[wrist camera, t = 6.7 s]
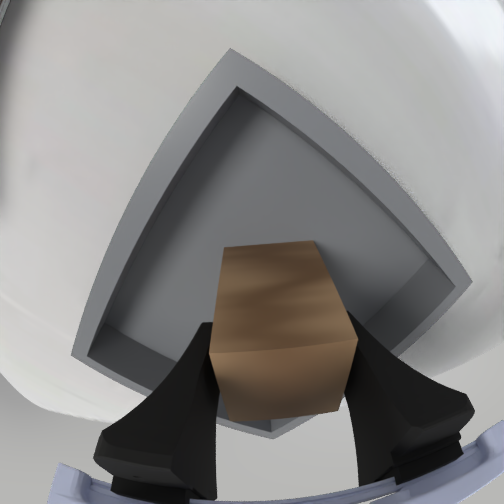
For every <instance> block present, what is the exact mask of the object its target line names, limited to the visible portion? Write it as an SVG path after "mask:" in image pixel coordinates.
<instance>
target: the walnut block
mask: <svg viewBox="0 0 504 504" xmlns="http://www.w3.org/2000/svg"><path fill="white" fill-rule="evenodd" d="M357 341H358V337H357V335H356V333H355V330H354V328H353V326H352V323H351V321H350V319H349V316H348V314H347V312H346V309H345V307H344V305H343V303H342V300H341V298H340V296H339V294H338V292H337V289H336V287H335V285H334V283H333V281H332V279H331V276H330V274H329V272H328V270H327V268H326V266H325V264H324V262H323V260H322V258H321V255H320V253H319V251H318V249H317V247H316V245H315V243H314V241H313V240H309V241H296V242H284V243H271V244H259V245H247V246H235V247H224V250H223V257H222V263H221V270H220V277H219V284H218V290H217V297H216V304H215V312H214V319H213V326H212V334H211V341H210V349H209V355H210V359H211V362H212V366H213V369H214V372H215V376H216V379H217V382H218V386H219V389H220V392H221V395H222V399H223V402H224V405H225V408H226V411H227V414H228V417H229V420H230V422H232V421H258V420H272V419H283V418H293V417H301V416H309V415H316V414H323V413H328V412H335V411H338V409H339V407H340V403H341V400H342V397H343V394H344V390H345V387H346V384H347V380H348V377H349V373H350V369H351V365H352V362H353V358H354V354H355V350H356V346H357Z"/></svg>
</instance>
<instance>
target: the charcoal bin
mask: <svg viewBox="0 0 504 504" xmlns="http://www.w3.org/2000/svg"><path fill="white" fill-rule="evenodd" d="M309 240H313V241H314V243H315V245H316V247H317V249H318V251H319V253H320V255H321V258H322V260H323V262H324V264H325V266H326V268H327V270H328V272H329V274H330V276H331V279H332V281H333V283H334V285H335V287H336V289H337V292H338V294H339V296H340V298H341V300H342V303H343V305H344V307H345V309H346V311H349V312H350V313H351V314H352V315H353V316H354V317H355V318H356V319H357V320H358V321H359V322H360V323H361V325H362V326H363V327H364V328H365V329H366V330H367V331H368V332H369V333H370V334H371V335H372V336H373V337H374V338H376V339H377V340H378V341H379V342H380V343H381V344H382V345H383V346H384V347H385V348H386V349H387V350H389V351H390V352H391V353H392V354H393V355H395V356H396V357H398V356H399V355H400V354H402V353H403V352H404V351H405V350H406V349H407V348H409V347H410V346H411V345H412V344H413V343H414V342H415V341H416V340H417V339H419V338H420V337H421V336H422V335H423V334H424V333H425V332H426V331H427V330H428V329H429V328H430V327H431V326H432V325H433V324H434V323H435V322H436V321H437V320H438V319H439V318H440V317H441V316H442V315H443V314H444V313H445V312H446V311H447V310H448V309H449V308H450V307H451V306H452V305H453V304H454V303H455V302H456V300H457V299H458V298H459V297H460V296H461V295H462V294H463V293H464V292H465V290H466V289H467V288H468V287H469V286H470V285H471V283H472V282H473V281H472V280H471V278H470V277H469V275H468V273H467V272H466V270H465V269H464V267H463V266H462V264H461V263H460V261H459V260H458V258H457V257H456V256H455V254H454V253H453V251H452V250H451V248H450V247H449V246H448V244H447V243H446V242H445V240H444V239H443V237H442V236H441V235H440V233H439V232H438V231H437V230H436V228H435V227H434V226H433V224H432V223H431V222H430V221H429V219H428V218H427V217H426V216H425V214H424V213H423V212H422V211H421V210H420V208H419V207H418V206H417V205H416V204H415V202H414V201H413V200H412V199H411V198H410V197H409V195H408V194H407V193H406V192H405V191H404V190H403V189H402V188H401V186H400V185H399V184H398V183H397V182H396V181H395V180H394V179H393V178H392V177H391V176H390V175H389V174H388V173H387V171H386V170H385V169H384V168H383V167H382V166H381V165H380V164H379V163H378V162H377V161H376V160H375V159H374V158H373V157H372V156H371V155H370V154H369V153H368V152H367V151H366V150H365V149H363V148H362V147H361V146H360V145H359V144H358V143H357V142H356V141H355V140H354V139H353V138H352V137H351V136H349V135H348V134H347V133H346V132H345V131H344V130H343V129H342V128H340V127H339V126H338V125H337V124H336V123H335V122H334V121H332V120H331V119H330V118H329V117H328V116H326V115H325V114H324V113H323V112H322V111H320V110H319V109H318V108H317V107H315V106H314V105H313V104H312V103H310V102H309V101H308V100H306V99H305V98H304V97H303V96H301V95H300V94H299V93H297V92H296V91H295V90H293V89H292V88H291V87H289V86H288V85H286V84H285V83H284V82H282V81H281V80H279V79H278V78H276V77H275V76H274V75H272V74H271V73H269V72H268V71H266V70H265V69H263V68H262V67H260V66H259V65H257V64H255V63H254V62H252V61H251V60H249V59H247V58H246V57H244V56H243V55H241V54H239V53H238V52H236V51H234V50H233V49H231V48H230V49H229V50H228V51H227V52H226V54H225V55H224V56H223V57H222V58H221V60H220V61H219V62H218V63H217V65H216V66H215V67H214V68H213V70H212V71H211V72H210V74H209V75H208V76H207V78H206V79H205V80H204V81H203V83H202V84H201V86H200V87H199V88H198V90H197V91H196V92H195V94H194V95H193V97H192V98H191V99H190V101H189V102H188V104H187V105H186V107H185V108H184V110H183V111H182V113H181V114H180V115H179V117H178V118H177V120H176V122H175V123H174V125H173V126H172V128H171V129H170V131H169V132H168V134H167V136H166V137H165V139H164V140H163V142H162V144H161V145H160V147H159V149H158V150H157V152H156V154H155V155H154V157H153V159H152V161H151V162H150V164H149V166H148V168H147V169H146V171H145V173H144V175H143V177H142V178H141V180H140V182H139V184H138V186H137V188H136V190H135V192H134V194H133V195H132V197H131V199H130V201H129V203H128V205H127V207H126V209H125V211H124V214H123V216H122V218H121V220H120V222H119V224H118V226H117V228H116V231H115V233H114V235H113V237H112V239H111V242H110V244H109V246H108V249H107V251H106V253H105V256H104V258H103V261H102V263H101V266H100V268H99V271H98V273H97V276H96V278H95V281H94V284H93V286H92V289H91V292H90V295H89V298H88V300H87V303H86V306H85V309H84V312H83V315H82V318H81V322H80V325H79V328H78V331H77V335H76V338H75V342H74V345H73V349H72V353H71V356H73V357H74V358H76V359H78V360H79V361H81V362H83V363H84V364H86V365H88V366H89V367H91V368H93V369H94V370H96V371H98V372H100V373H101V374H103V375H105V376H107V377H109V378H111V379H112V380H114V381H116V382H118V383H120V384H122V385H124V386H126V387H128V388H130V389H132V390H134V391H136V392H138V393H140V394H142V395H145V396H147V397H148V396H149V395H150V394H151V393H152V392H153V391H154V390H155V389H156V388H157V387H158V386H159V384H160V383H161V382H162V381H163V380H164V379H165V378H166V376H167V375H168V374H169V373H170V371H171V370H172V369H173V367H174V366H175V365H176V363H177V362H178V360H179V359H180V358H181V356H182V355H183V353H184V352H185V350H186V348H187V347H188V345H189V344H190V342H191V340H192V339H193V337H194V335H195V333H196V332H197V330H198V328H199V326H200V324H201V323H202V322H213V319H214V312H215V304H216V297H217V290H218V284H219V277H220V270H221V263H222V257H223V250H224V247H235V246H247V245H259V244H271V243H284V242H296V241H309ZM344 397H345V395H344V394H343V397H342V399H343V398H344ZM316 415H318V414H316ZM316 415H309V416H301V417H293V418H283V419H272V420H258V421H232V422H230V420H229V417H228V414H227V411H226V408H225V405H224V402H223V399H222V395H221V392H220V395H219V403H218V410H217V418H216V424H219V425H222V426H225V427H229V428H232V429H235V430H239V431H242V432H246V433H250V434H254V435H258V436H261V437H266V438H270V439H275V438H277V437H279V436H280V435H283V434H284V433H286V432H288V431H290V430H292V429H294V428H295V427H297V426H299V425H301V424H302V423H304V422H306V421H308V420H309V419H311V418H313V417H314V416H316Z"/></svg>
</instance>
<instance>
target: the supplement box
mask: <svg viewBox="0 0 504 504" xmlns="http://www.w3.org/2000/svg"><path fill="white" fill-rule="evenodd" d="M9 2H10V0H0V25H1V23H2V20H3V17H4V14H5V12H6V9H7V7H8V4H9Z"/></svg>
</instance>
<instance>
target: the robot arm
mask: <svg viewBox="0 0 504 504" xmlns="http://www.w3.org/2000/svg"><path fill="white" fill-rule="evenodd" d="M346 312H347V314H348V316H349V319H350V321H351V323H352V326H353V328H354V330H355V333H356V335H357V337H358V341H357V346H356V350H355V354H354V358H353V362H352V365H351V369H350V373H349V377H348V380H347V384H346V387H345V390H344V395H345V398H346V401H347V404H348V408H349V411H350V417H351V422H352V427H353V433H354V439H355V447H356V455H357V465H358V480H359V487H357V488H352V489H348V490H344V491H339V492H334V493H329V494H323V495H317V496H311V497H303V498H296V499H286V500H274V501H273V500H272V501H248V502H247V501H246V502H245V501H244V502H238V501H236V502H235V501H234V502H233V501H232V502H231V501H214V500H216V499H217V484H216V418H217V410H218V403H219V395H220V389H219V386H218V382H217V379H216V376H215V372H214V369H213V366H212V362H211V359H210V355H209V349H210V341H211V334H212V326H213V322H202V323H201V324H200V326H199V328H198V330H197V332H196V333H195V335H194V337H193V339H192V340H191V342H190V344H189V345H188V347H187V348H186V350H185V352H184V353H183V355H182V356H181V358H180V359H179V360H178V362H177V363H176V365H175V366H174V367H173V369H172V370H171V371H170V373H169V374H168V375H167V376H166V378H165V379H164V380H163V381H162V382H161V383H160V384H159V386H158V387H157V388H156V389H155V390H154V391H153V392H152V393H151V394H150V395H149V396H148V397H147V398H146V399H145V400H144V401H143V402H141V403H140V404H139V405H138V406H137V407H135V408H134V409H133V410H132V411H130V412H129V413H128V414H127V415H125V416H124V417H123V418H121V419H120V420H118V421H117V422H115V423H114V424H112V425H111V426H109V427H107V428H106V429H104V430H102V432H101V435H100V437H99V440H98V443H97V446H96V450H95V453H94V457H93V459H94V461H95V462H96V463H97V464H98V465H99V466H100V467H102V468H103V469H105V470H107V472H109V473H110V474H112V475H113V481H112V484H110V483H107V482H103V481H100V480H97V479H94V478H91V477H90V476H89V475H88V474H86V473H84V472H82V471H80V470H78V469H75V468H72V467H70V466H67V465H65V464H62V463H58V466H57V469H56V473H55V476H54V479H53V483H52V486H51V490H50V494H49V497H48V501H47V504H358V503H361V502H365V501H369V500H372V499H376V498H379V497H382V496H385V495H389V494H391V495H389V496H386V497H384V498H381V499H378V500H375V501H373V502H371V503H370V504H458V503H460V502H461V501H463V500H464V499H466V498H468V497H469V496H471V495H472V494H474V493H475V492H477V491H478V490H480V489H481V488H483V487H484V486H485V485H487V484H488V483H490V482H491V481H493V480H494V479H495V478H497V477H498V476H499V475H501V474H502V473H503V472H504V421H503V420H501V421H500V422H498V423H497V424H495V425H494V426H492V427H490V428H489V429H487V430H486V431H485V432H483V433H482V434H481V435H480V436H479V437H478V438H477V439H476V440H475V441H473V442H471V443H470V444H468V445H466V446H464V447H462V448H461V446H460V443H459V440H460V439H461V435H460V433H459V431H460V430H461V429H462V428H463V427H464V426H465V425H466V424H467V423H468V422H469V421H470V419H471V418H472V417H473V415H474V412H475V410H474V408H473V406H472V404H471V402H470V400H469V398H468V396H467V395H466V394H465V393H462V392H459V391H457V390H454V389H451V388H448V387H446V386H444V385H442V384H439V383H437V382H435V381H433V380H431V379H430V378H428V377H426V376H424V375H422V374H421V373H419V372H417V371H416V370H414V369H413V368H411V367H410V366H408V365H407V364H405V363H404V362H403V361H401V360H400V359H398V358H397V357H396V356H395V355H393V354H392V353H391V352H390V351H389V350H387V349H386V348H385V347H384V346H383V345H382V344H381V343H380V342H379V341H378V340H377V339H376V338H374V337H373V336H372V335H371V334H370V333H369V332H368V331H367V330H366V329H365V328H364V327H363V326H362V325H361V323H360V322H359V321H358V320H357V319H356V318H355V317H354V316H353V315H352V314H351V313H350V312H349V311H346ZM394 492H395V493H394ZM392 493H394V494H392Z"/></svg>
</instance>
